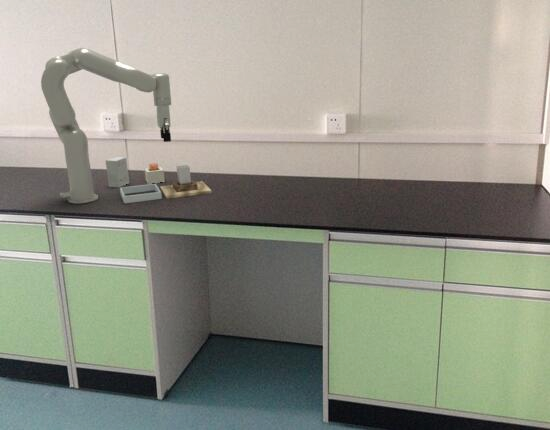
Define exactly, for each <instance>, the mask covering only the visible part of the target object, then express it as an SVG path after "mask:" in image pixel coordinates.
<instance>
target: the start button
mask: <svg viewBox="0 0 550 430" xmlns="http://www.w3.org/2000/svg"><path fill="white" fill-rule="evenodd" d="M158 167H159V164H158V163H155V162H154V163H149V167H148V168H150V171H155V170H158Z"/></svg>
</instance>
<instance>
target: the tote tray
mask: <svg viewBox="0 0 550 430" xmlns="http://www.w3.org/2000/svg"><path fill="white" fill-rule="evenodd" d="M153 191H154V192H153ZM146 192H147V193H146ZM148 192H149V193H148ZM119 193H120V197H121V199H122V202H123V204H124V203H125V204H132V203H139V202H140V203H141V202H149V201H154V200H155V201H156V200H161V199H162V198H163V197H162V191H161V189H160V187H159V186H158V184H157V183H155V184H148V183H147V184H141V185H132V186H122V187H120V188H119ZM135 193H138V194H135ZM128 194H130V195H128ZM131 194H132V195H131Z"/></svg>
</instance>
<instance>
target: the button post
mask: <svg viewBox="0 0 550 430" xmlns="http://www.w3.org/2000/svg"><path fill="white" fill-rule="evenodd" d="M144 175H145V176H144V177H145V181H147V182H146V183H147V185H148V184H152V183H155V184H161V183H160V182H163V183H165V170H164V169H163V168H162V167H161V166H158V170H155V171H150V167H147V168H144Z"/></svg>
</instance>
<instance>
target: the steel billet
mask: <svg viewBox="0 0 550 430" xmlns="http://www.w3.org/2000/svg"><path fill="white" fill-rule="evenodd" d="M176 175H177V181H178V185H188V184H191V180H192V177H191V167H190V166H189V165H188V164H185V165H177V166H176Z"/></svg>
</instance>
